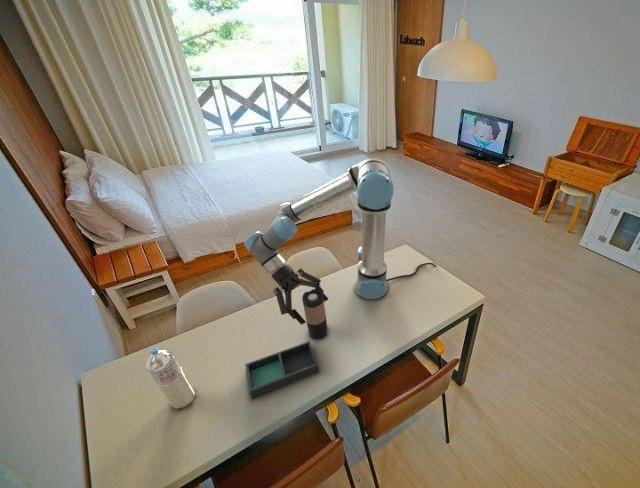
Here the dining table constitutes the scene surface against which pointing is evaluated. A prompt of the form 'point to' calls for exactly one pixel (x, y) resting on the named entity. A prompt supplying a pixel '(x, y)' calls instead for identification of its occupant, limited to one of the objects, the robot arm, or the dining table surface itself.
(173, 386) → the water bottle
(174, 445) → the dining table surface
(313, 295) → the travel mug
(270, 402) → the dining table surface
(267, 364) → the divided organizer tray
